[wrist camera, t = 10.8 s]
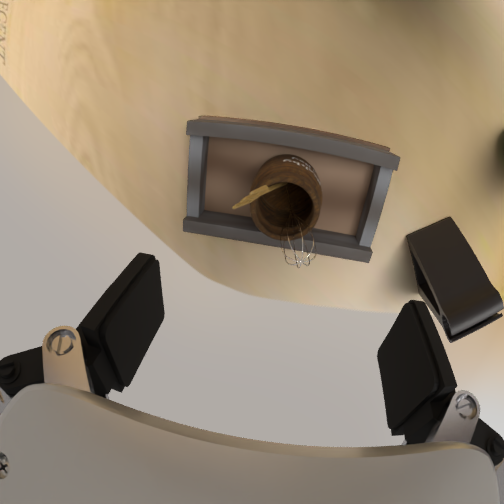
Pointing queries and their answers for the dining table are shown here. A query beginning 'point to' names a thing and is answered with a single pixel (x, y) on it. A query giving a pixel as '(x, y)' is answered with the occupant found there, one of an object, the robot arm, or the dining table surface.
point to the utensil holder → (285, 200)
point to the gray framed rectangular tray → (278, 143)
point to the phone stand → (453, 280)
